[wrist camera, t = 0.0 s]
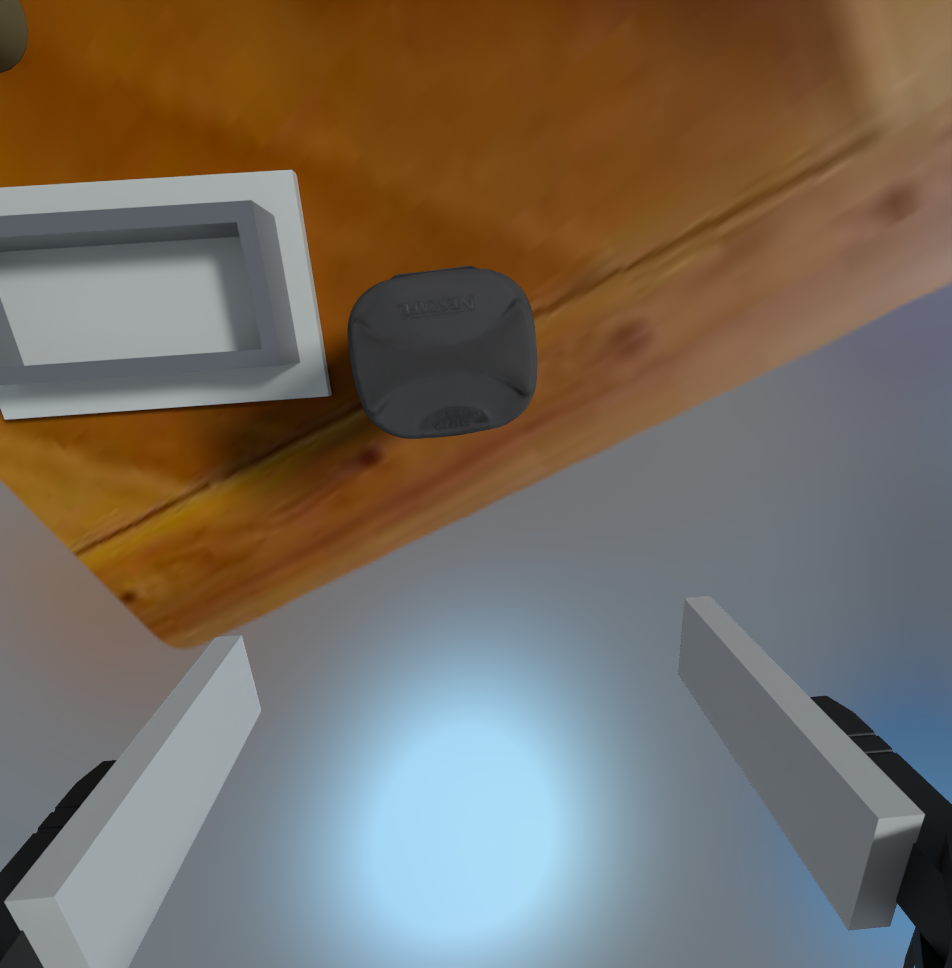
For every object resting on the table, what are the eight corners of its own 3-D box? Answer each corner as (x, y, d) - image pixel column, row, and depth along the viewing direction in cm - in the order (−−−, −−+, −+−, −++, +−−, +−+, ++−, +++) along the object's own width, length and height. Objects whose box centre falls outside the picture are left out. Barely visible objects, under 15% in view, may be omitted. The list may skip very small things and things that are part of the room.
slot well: (15, 417, 38) (-47, 429, 33) (-67, 196, 33) (-154, 173, 28) (331, 394, 39) (314, 402, 34) (296, 174, 34) (270, 147, 29)
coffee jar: (397, 404, 39) (351, 459, 22) (380, 305, 37) (311, 275, 19) (510, 389, 39) (557, 432, 22) (500, 289, 37) (543, 245, 19)
